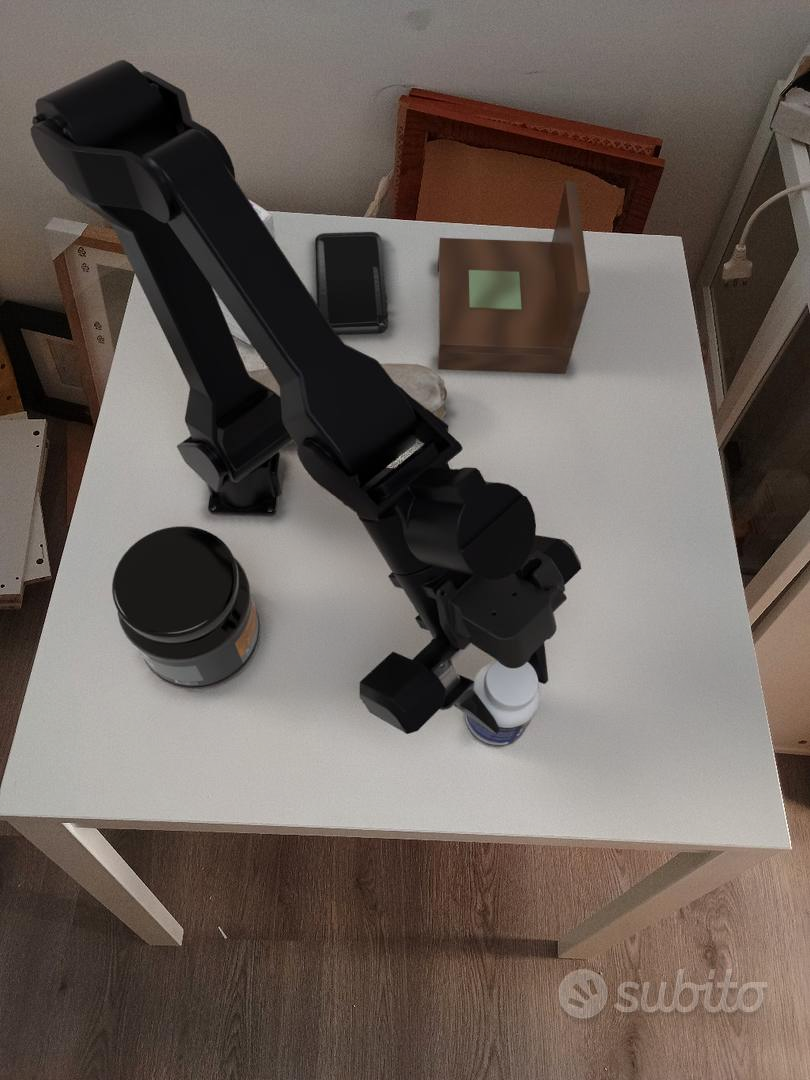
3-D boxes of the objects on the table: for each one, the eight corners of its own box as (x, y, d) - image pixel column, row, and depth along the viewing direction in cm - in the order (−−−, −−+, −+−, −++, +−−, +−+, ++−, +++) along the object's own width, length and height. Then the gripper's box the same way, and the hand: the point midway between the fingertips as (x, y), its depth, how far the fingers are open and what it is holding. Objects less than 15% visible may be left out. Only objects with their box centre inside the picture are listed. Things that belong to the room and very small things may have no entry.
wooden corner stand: (437, 369, 90) (445, 286, 79) (437, 264, 98) (444, 176, 87) (565, 373, 90) (590, 291, 80) (555, 269, 98) (576, 181, 87)
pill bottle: (521, 755, 69) (543, 722, 60) (458, 742, 69) (470, 707, 61) (530, 694, 72) (551, 654, 63) (468, 682, 72) (482, 640, 63)
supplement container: (275, 595, 76) (258, 530, 66) (245, 704, 71) (222, 653, 61) (164, 576, 77) (130, 509, 66) (126, 683, 72) (83, 629, 61)
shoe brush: (442, 383, 89) (445, 352, 84) (450, 440, 85) (454, 410, 81) (216, 395, 87) (208, 363, 83) (215, 453, 84) (206, 423, 79)
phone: (317, 328, 91) (314, 233, 98) (318, 335, 92) (315, 240, 99) (389, 325, 91) (381, 231, 98) (389, 333, 92) (381, 238, 99)
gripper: (390, 665, 48) (505, 838, 54) (591, 477, 55) (672, 650, 61) (308, 627, 57) (413, 778, 63) (488, 470, 64) (567, 621, 70)
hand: (519, 706), depth 64 cm, fingers closed on pill bottle, 5 cm apart
